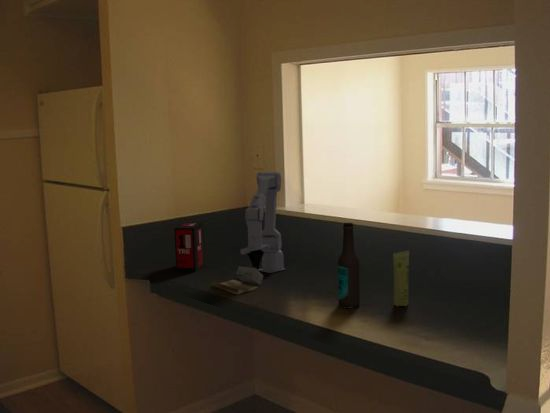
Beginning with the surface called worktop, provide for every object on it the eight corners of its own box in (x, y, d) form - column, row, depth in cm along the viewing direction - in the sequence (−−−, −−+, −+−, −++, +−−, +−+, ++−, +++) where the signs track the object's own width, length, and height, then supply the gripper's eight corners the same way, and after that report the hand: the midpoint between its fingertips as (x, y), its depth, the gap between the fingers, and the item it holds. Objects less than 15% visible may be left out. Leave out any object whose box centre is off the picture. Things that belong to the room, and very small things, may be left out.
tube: (407, 308, 216) (407, 253, 213) (392, 307, 217) (392, 253, 215) (409, 303, 221) (409, 250, 218) (394, 302, 223) (394, 249, 220)
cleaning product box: (195, 271, 276) (193, 228, 274) (176, 271, 278) (174, 228, 275) (204, 263, 293) (202, 222, 290) (186, 263, 294) (184, 222, 291)
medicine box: (263, 275, 252) (255, 267, 245) (261, 285, 250) (252, 277, 243) (247, 273, 256) (238, 265, 249) (244, 283, 254) (235, 275, 247)
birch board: (233, 281, 258) (233, 277, 257) (258, 288, 246) (258, 283, 246) (212, 286, 251) (212, 282, 250) (236, 294, 239) (236, 289, 238)
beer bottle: (334, 304, 223) (333, 222, 218) (352, 301, 226) (352, 220, 221) (345, 310, 216) (344, 225, 211) (363, 306, 219) (363, 223, 214)
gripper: (261, 232, 261) (262, 263, 262) (235, 237, 251) (236, 270, 252) (272, 234, 255) (273, 266, 257) (246, 239, 246) (247, 273, 247)
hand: (255, 268), depth 255 cm, fingers closed
